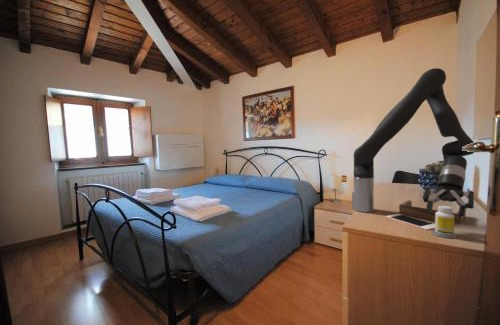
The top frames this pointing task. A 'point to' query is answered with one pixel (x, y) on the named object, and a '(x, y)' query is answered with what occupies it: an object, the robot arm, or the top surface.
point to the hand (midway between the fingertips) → (444, 213)
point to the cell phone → (412, 221)
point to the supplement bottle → (444, 220)
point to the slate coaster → (444, 235)
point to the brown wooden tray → (424, 212)
